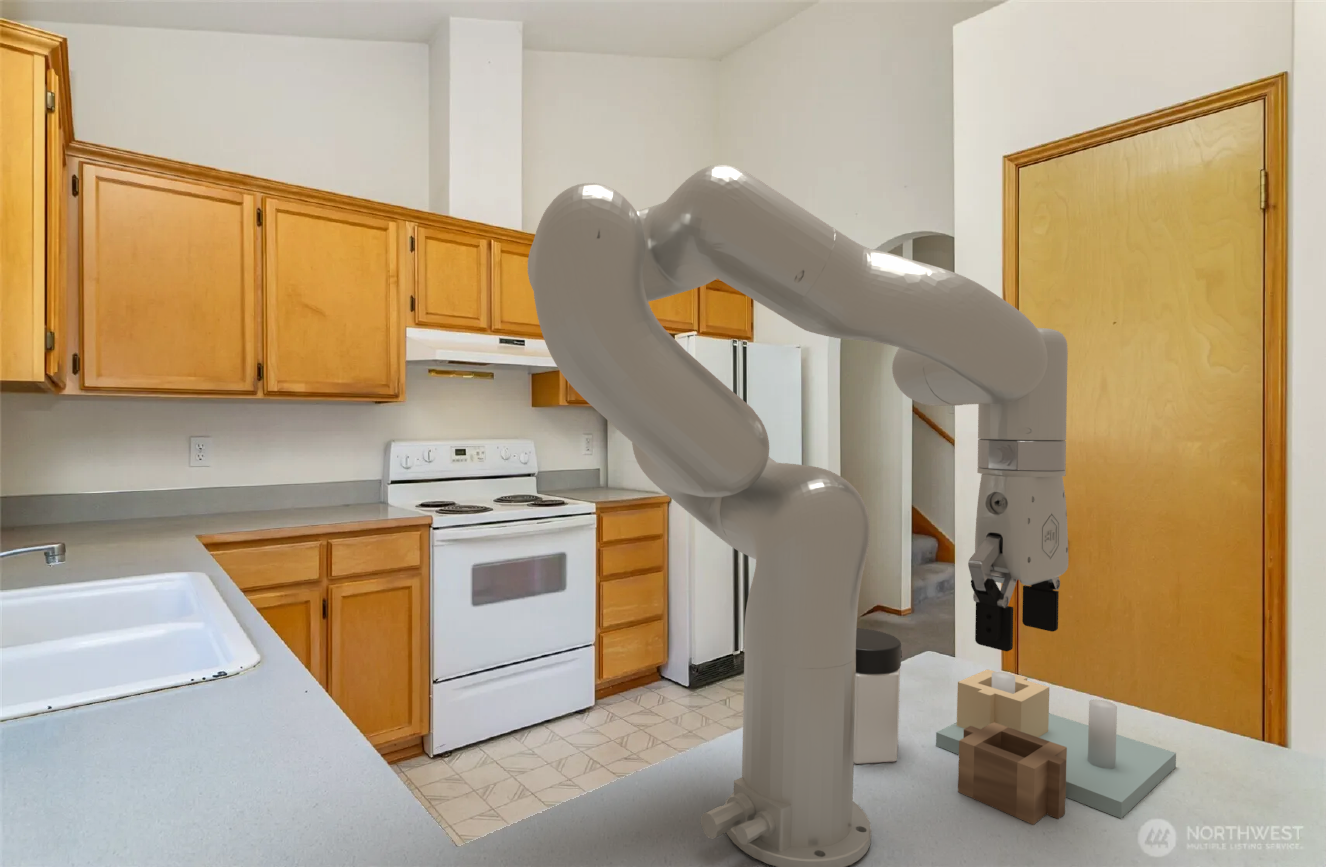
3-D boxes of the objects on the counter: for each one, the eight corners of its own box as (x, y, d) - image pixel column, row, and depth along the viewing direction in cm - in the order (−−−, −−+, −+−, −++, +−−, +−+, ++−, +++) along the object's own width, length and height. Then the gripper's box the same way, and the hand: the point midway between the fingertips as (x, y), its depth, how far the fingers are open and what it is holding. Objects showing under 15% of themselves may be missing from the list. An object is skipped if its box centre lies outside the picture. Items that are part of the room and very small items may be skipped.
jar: (917, 751, 76) (920, 641, 76) (874, 773, 71) (876, 656, 70) (848, 723, 83) (850, 622, 83) (804, 741, 78) (806, 634, 77)
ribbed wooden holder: (1045, 829, 61) (1046, 773, 61) (948, 787, 68) (949, 736, 68) (1076, 803, 66) (1078, 751, 66) (982, 766, 73) (983, 718, 73)
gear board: (1121, 818, 63) (1123, 736, 63) (936, 745, 77) (937, 678, 77) (1175, 767, 73) (1177, 696, 73) (1003, 710, 87) (1004, 651, 87)
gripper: (1020, 464, 58) (1017, 667, 58) (1098, 458, 69) (1095, 630, 69) (936, 460, 64) (933, 645, 64) (1020, 455, 75) (1018, 613, 75)
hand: (1017, 637), depth 67 cm, fingers open, 9 cm apart
